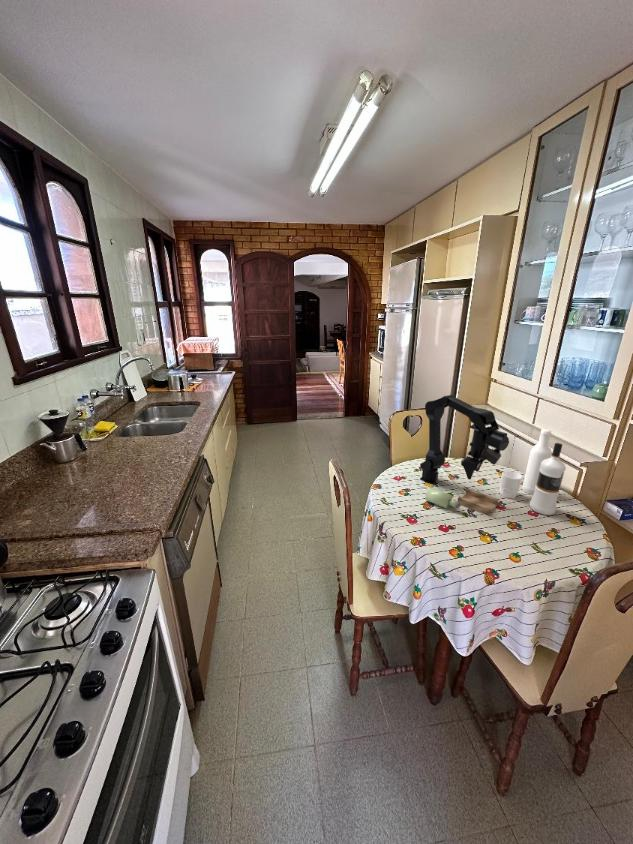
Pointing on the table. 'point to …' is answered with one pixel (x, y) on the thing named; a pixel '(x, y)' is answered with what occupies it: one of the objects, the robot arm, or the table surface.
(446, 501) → the bottle
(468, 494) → the rest
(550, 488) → the vodka
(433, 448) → the robot arm
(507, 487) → the white cup
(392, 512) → the table surface
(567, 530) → the table surface
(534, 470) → the bottle
